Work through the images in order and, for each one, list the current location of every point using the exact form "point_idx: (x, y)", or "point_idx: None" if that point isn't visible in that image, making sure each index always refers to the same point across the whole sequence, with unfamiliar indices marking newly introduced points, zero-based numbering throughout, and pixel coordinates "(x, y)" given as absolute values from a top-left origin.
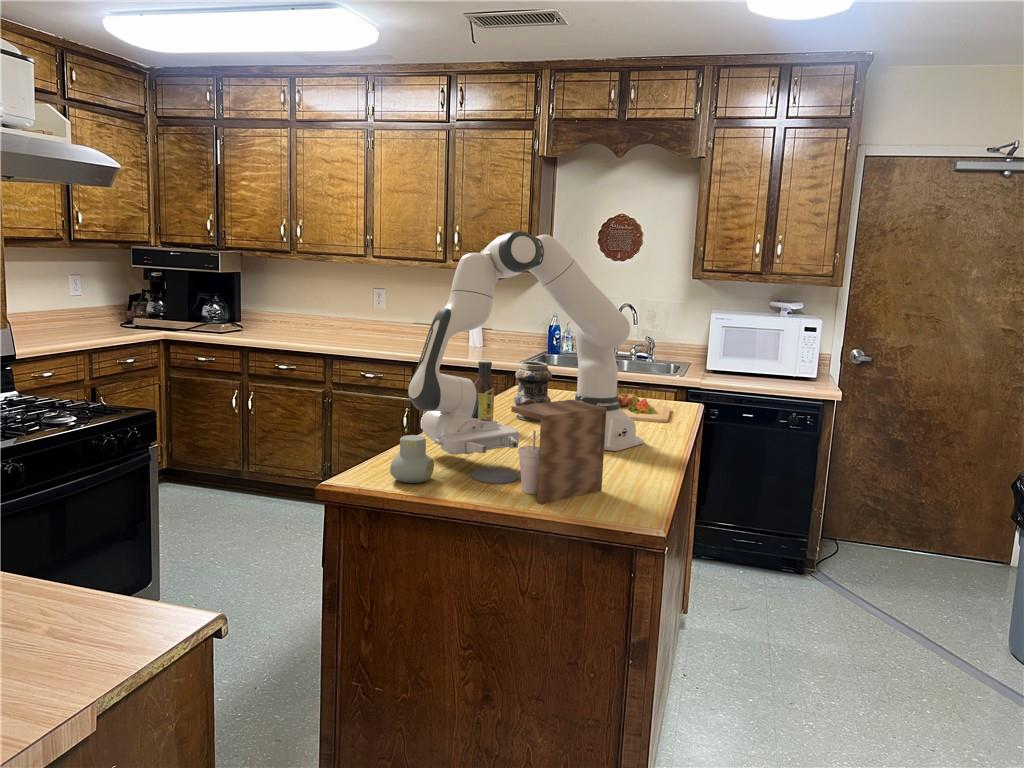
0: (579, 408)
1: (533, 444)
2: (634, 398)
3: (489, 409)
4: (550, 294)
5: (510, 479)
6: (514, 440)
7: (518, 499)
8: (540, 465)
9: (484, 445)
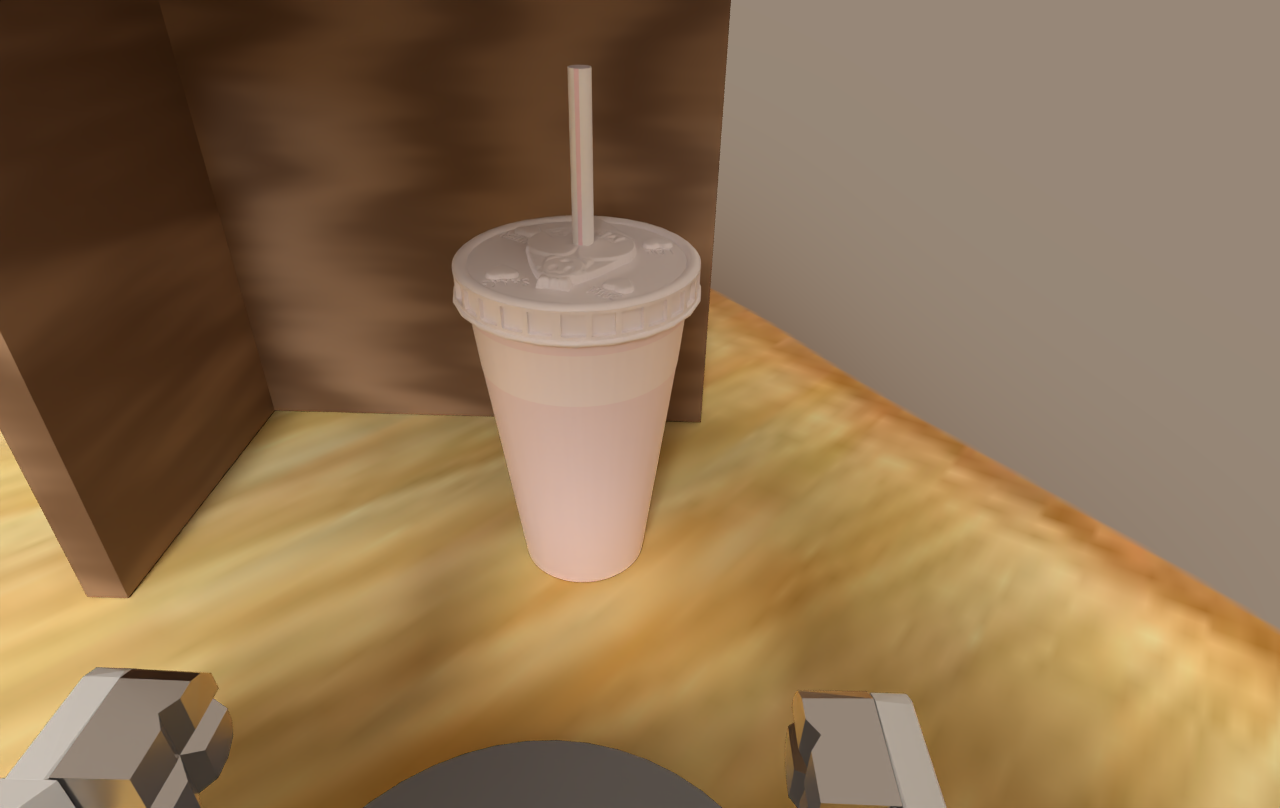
0: None
1: (591, 195)
2: None
3: None
4: None
5: (532, 755)
6: (100, 706)
7: (759, 485)
8: (713, 211)
9: (819, 706)
